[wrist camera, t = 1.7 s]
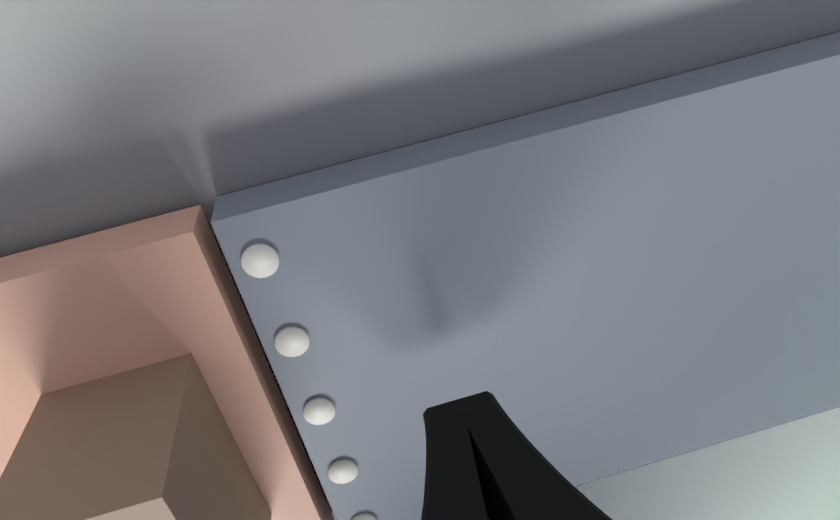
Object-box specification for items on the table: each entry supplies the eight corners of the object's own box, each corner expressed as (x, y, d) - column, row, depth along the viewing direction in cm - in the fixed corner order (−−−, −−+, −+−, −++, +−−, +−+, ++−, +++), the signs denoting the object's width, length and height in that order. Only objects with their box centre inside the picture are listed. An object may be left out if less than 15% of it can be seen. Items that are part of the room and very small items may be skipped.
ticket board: (814, 377, 19) (848, 407, 18) (346, 515, 18) (350, 556, 17) (868, 24, 14) (920, 35, 12) (216, 196, 13) (210, 224, 12)
